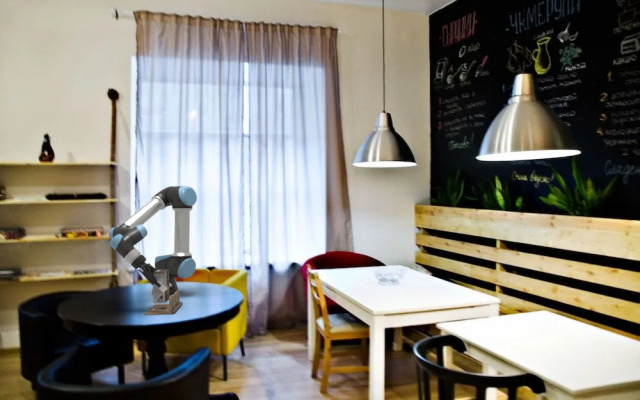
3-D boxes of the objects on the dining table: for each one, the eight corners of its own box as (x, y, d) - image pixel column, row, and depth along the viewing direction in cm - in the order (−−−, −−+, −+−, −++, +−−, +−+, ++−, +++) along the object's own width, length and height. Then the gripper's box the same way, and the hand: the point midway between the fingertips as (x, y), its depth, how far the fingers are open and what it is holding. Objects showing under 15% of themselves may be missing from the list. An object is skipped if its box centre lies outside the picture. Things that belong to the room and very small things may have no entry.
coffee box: (157, 299, 248) (156, 269, 248) (169, 299, 249) (169, 269, 249) (152, 303, 239) (152, 272, 239) (165, 303, 240) (165, 271, 240)
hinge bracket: (155, 305, 254) (155, 290, 254) (182, 304, 255) (182, 289, 255) (144, 315, 234) (144, 299, 234) (174, 314, 235) (174, 298, 235)
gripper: (137, 261, 253) (167, 289, 255) (123, 267, 232) (157, 298, 233) (146, 251, 254) (177, 280, 255) (134, 256, 232) (167, 288, 234)
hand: (167, 289), depth 244 cm, fingers closed on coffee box, 9 cm apart
